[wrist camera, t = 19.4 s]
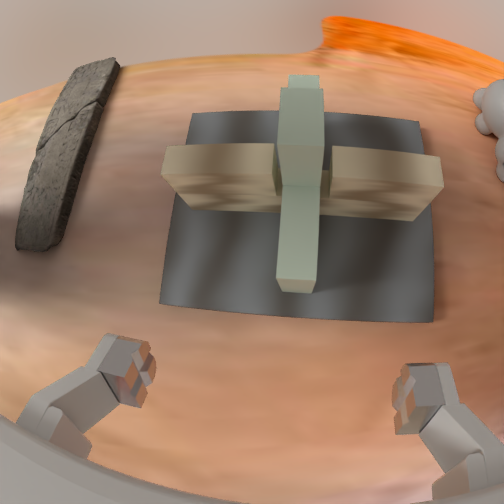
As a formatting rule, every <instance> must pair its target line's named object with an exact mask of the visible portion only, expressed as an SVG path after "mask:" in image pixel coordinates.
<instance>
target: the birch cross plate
mask: <svg viewBox="0 0 504 504" xmlns="http://www.w3.org/2000/svg"><path fill="white" fill-rule="evenodd" d="M278 123H279V111H227V112H207V113H192V118H191V122H190V126H189V131H188V135H187V140H186V144H185V145H175V146H167V147H166V151H165V156H164V160H163V164H162V169H161V173H160V175H161V176H162V177H163V178H164V179H165V180H166V181H167V182H168V183H169V185H170V186H171V187H172V188H173V189H174V190H175V191H176V195H175V200H174V206H173V211H172V217H171V223H170V229H169V235H168V242H167V248H166V255H165V262H164V269H163V277H162V284H161V292H160V301H159V304H164V305H171V306H180V307H188V308H197V309H206V310H215V311H225V312H235V313H246V314H257V315H269V316H281V317H295V318H310V319H327V320H347V321H371V322H409V323H430V322H433V315H434V245H433V227H432V213H431V201H432V200H433V199H434V198H435V197H436V196H437V195H438V194H439V192H440V191H441V190H442V189H443V188H444V182H443V175H442V168H441V162H440V157H437V156H430V155H425V154H424V148H423V142H422V136H421V131H420V125H419V122H418V121H411V120H404V119H396V118H388V117H380V116H370V115H359V114H347V113H332V112H324V156H323V165H322V174H321V183H320V207H319V236H318V257H317V276H316V283H315V285H314V288H313V291H312V294H310V293H295V292H282V290H281V288H280V286H279V284H278V281H277V279H276V270H277V258H278V245H279V232H280V218H281V204H282V189H283V183H282V176H281V169H280V162H279V155H278V148H277V138H278Z"/></svg>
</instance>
